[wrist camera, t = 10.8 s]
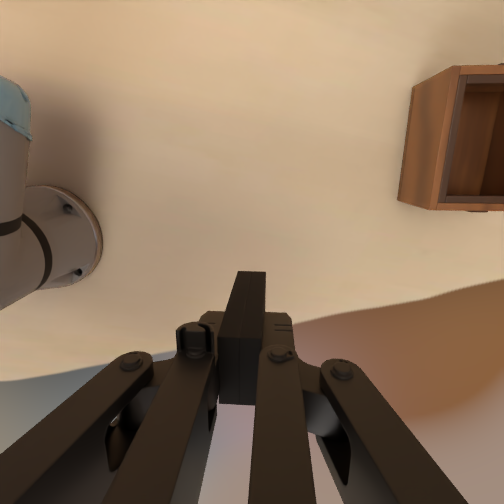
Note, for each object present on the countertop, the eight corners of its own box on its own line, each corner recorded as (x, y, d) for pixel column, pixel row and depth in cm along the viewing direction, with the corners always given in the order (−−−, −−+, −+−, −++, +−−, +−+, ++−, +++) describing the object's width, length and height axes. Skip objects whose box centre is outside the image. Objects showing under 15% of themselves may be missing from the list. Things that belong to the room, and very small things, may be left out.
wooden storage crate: (428, 211, 34) (534, 213, 33) (453, 63, 30) (574, 61, 29) (396, 201, 42) (480, 202, 42) (412, 85, 38) (505, 84, 38)
